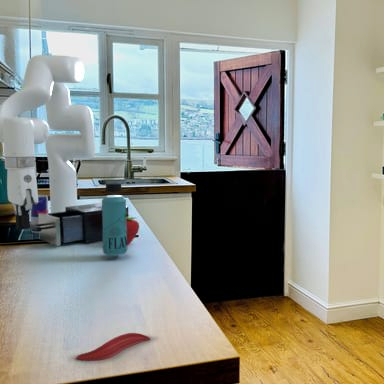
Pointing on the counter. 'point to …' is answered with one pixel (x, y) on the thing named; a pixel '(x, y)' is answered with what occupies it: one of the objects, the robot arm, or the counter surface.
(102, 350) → the cayenne pepper
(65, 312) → the counter surface
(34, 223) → the energy drink
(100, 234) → the cabinet
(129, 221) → the strawberry
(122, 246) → the beverage bottle
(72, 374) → the counter surface
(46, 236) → the drawer
